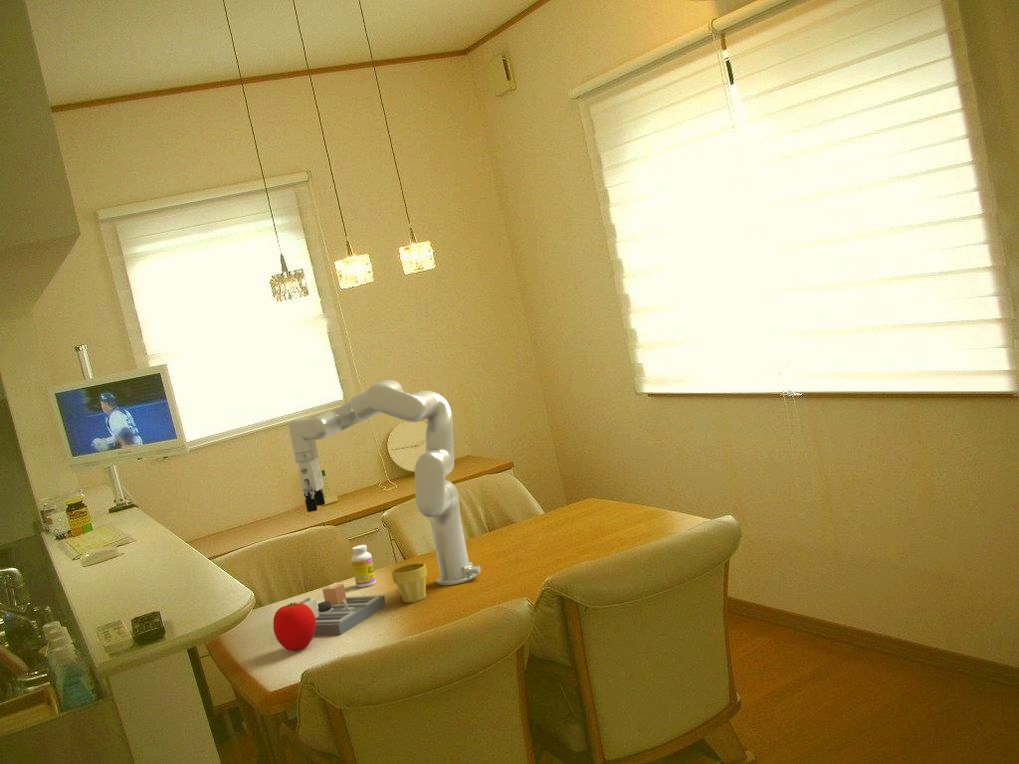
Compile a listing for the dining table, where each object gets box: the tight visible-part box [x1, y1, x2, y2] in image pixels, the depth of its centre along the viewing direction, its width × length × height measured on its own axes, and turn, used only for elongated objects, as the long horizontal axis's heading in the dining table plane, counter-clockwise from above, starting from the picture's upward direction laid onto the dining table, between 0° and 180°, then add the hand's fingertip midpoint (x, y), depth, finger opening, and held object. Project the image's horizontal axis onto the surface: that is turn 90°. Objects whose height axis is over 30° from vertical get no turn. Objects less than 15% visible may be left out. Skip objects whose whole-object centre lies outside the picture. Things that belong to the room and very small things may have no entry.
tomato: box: [272, 602, 316, 652], centre depth 275 cm, size 11×11×13 cm
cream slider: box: [298, 597, 319, 618], centre depth 292 cm, size 4×4×6 cm
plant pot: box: [391, 562, 428, 603], centre depth 304 cm, size 10×10×10 cm
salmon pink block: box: [322, 582, 347, 605], centre depth 304 cm, size 4×4×6 cm
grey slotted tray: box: [313, 594, 387, 637], centre depth 296 cm, size 18×24×7 cm
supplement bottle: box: [350, 544, 377, 588], centre depth 333 cm, size 7×7×13 cm
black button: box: [317, 600, 331, 612], centre depth 298 cm, size 4×4×2 cm
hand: (316, 508), depth 329 cm, fingers open, 9 cm apart
